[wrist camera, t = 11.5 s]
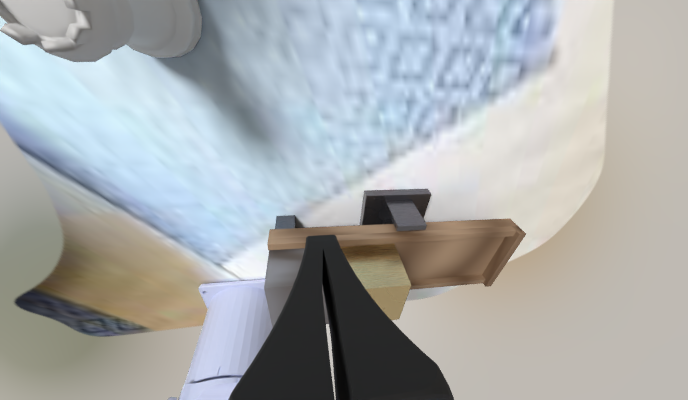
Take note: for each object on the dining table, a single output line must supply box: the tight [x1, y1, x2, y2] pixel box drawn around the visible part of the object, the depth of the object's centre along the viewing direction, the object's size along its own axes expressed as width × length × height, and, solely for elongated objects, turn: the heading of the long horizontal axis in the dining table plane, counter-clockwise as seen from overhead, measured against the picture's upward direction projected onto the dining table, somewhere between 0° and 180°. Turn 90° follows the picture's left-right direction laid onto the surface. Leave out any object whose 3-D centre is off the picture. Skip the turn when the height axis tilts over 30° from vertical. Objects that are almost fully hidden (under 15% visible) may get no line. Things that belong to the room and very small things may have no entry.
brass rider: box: [341, 244, 411, 320], centre depth 20 cm, size 5×5×4 cm
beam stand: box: [275, 189, 431, 231], centre depth 23 cm, size 14×10×4 cm
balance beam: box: [264, 219, 526, 328], centre depth 21 cm, size 21×7×5 cm, turn 87°
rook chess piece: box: [0, 0, 202, 62], centre depth 10 cm, size 4×4×8 cm
